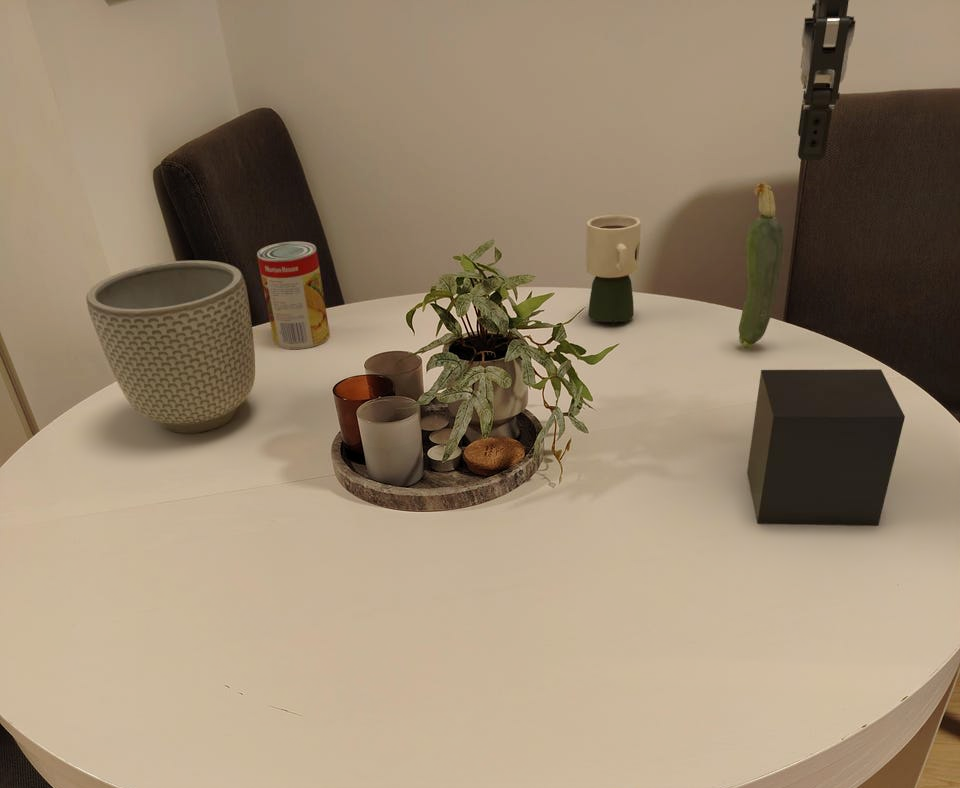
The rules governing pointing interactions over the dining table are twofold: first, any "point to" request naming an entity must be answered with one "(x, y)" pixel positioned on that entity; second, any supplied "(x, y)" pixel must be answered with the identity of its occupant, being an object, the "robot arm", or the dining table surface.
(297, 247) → the canned food
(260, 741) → the dining table surface
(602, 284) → the character mug
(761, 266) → the vegetable
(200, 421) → the planter
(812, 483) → the matte black cube
